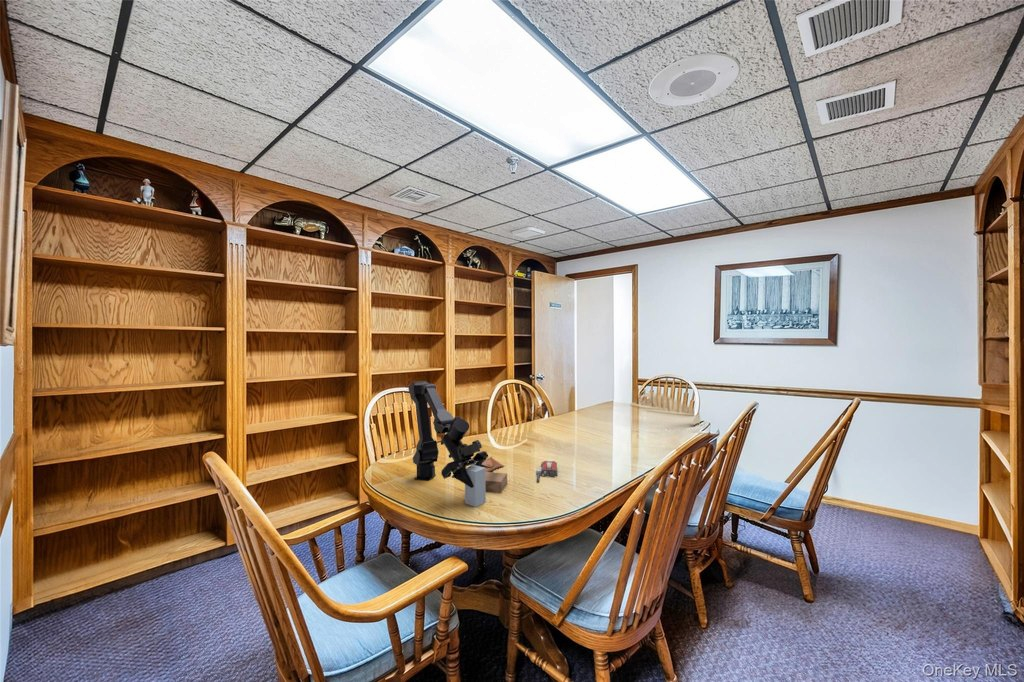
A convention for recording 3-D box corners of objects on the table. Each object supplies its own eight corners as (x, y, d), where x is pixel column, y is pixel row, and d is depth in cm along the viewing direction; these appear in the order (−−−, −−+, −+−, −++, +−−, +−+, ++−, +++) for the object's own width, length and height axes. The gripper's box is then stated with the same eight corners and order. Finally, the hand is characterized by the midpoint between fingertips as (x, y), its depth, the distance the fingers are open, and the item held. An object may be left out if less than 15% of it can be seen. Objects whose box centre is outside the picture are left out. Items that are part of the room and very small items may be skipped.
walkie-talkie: (537, 466, 175) (534, 483, 155) (537, 456, 175) (534, 472, 155) (557, 467, 174) (557, 484, 154) (557, 457, 174) (557, 473, 154)
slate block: (465, 503, 137) (464, 468, 136) (475, 498, 141) (474, 465, 140) (475, 507, 134) (475, 471, 133) (485, 502, 137) (485, 468, 137)
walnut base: (478, 490, 148) (478, 479, 148) (485, 481, 157) (485, 471, 157) (501, 492, 146) (501, 481, 146) (507, 483, 154) (507, 473, 154)
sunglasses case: (482, 478, 160) (475, 463, 162) (470, 484, 163) (463, 469, 165) (505, 465, 175) (499, 451, 177) (494, 471, 179) (488, 457, 180)
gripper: (446, 439, 132) (470, 480, 125) (484, 429, 146) (508, 464, 140) (431, 458, 137) (453, 498, 130) (469, 446, 151) (491, 481, 145)
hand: (478, 484), depth 136 cm, fingers closed on slate block, 5 cm apart
